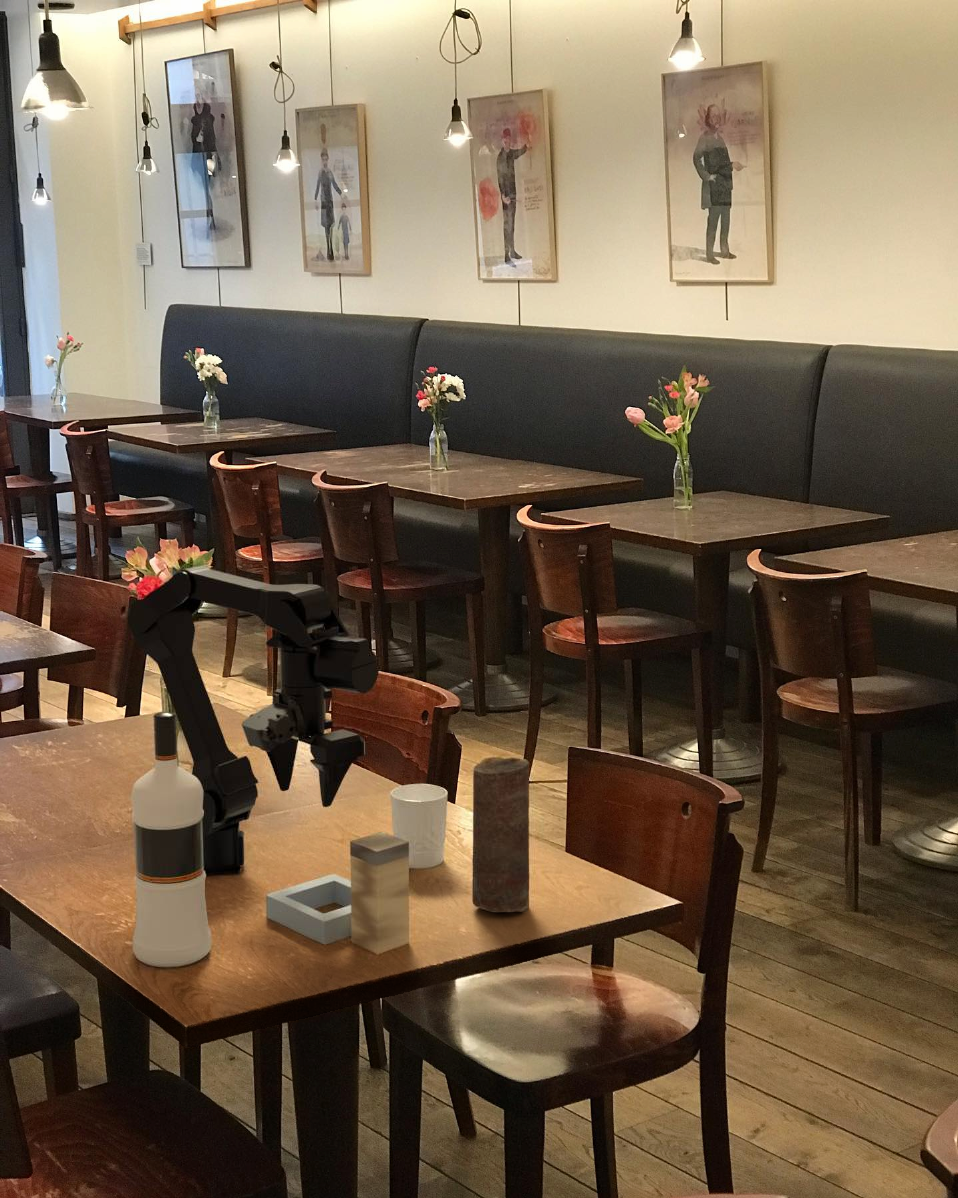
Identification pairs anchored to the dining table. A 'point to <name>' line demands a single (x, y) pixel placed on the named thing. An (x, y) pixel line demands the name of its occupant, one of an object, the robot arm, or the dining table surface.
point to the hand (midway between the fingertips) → (305, 798)
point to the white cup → (420, 822)
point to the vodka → (169, 858)
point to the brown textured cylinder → (501, 834)
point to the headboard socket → (302, 899)
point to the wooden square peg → (379, 892)
